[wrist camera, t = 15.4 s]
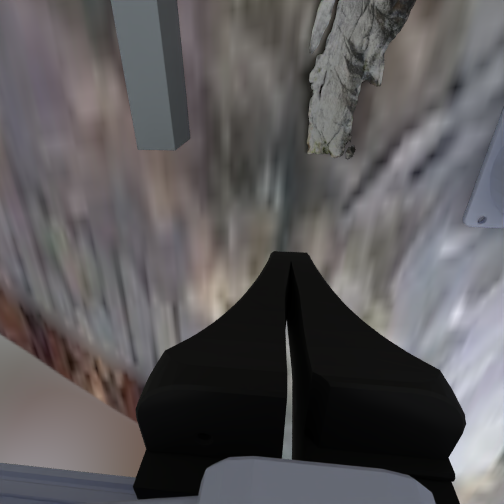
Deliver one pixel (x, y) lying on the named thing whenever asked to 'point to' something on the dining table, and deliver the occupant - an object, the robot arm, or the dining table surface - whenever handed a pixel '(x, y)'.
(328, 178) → the dining table surface
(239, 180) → the dining table surface
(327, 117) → the driftwood
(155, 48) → the slate curb
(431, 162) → the dining table surface
